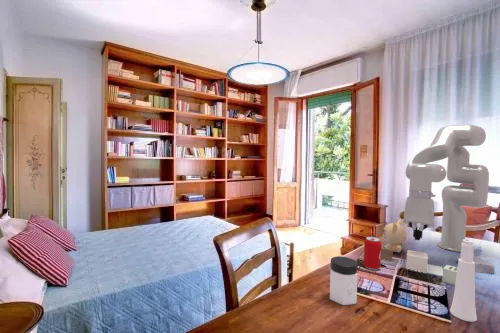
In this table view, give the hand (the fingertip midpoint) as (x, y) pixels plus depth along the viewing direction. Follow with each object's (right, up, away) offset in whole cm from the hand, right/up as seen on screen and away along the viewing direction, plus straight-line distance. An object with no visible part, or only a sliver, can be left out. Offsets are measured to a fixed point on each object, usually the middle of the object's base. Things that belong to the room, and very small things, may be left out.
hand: (417, 239), depth 107 cm
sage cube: (+6, -13, -11) cm, 18 cm away
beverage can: (-19, -12, 0) cm, 22 cm away
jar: (-39, -12, -23) cm, 47 cm away
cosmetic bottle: (-7, -14, -31) cm, 35 cm away
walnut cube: (-8, -11, +10) cm, 17 cm away
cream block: (0, -12, 0) cm, 12 cm away
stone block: (+25, -13, +3) cm, 28 cm away
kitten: (+1, -11, +20) cm, 23 cm away
